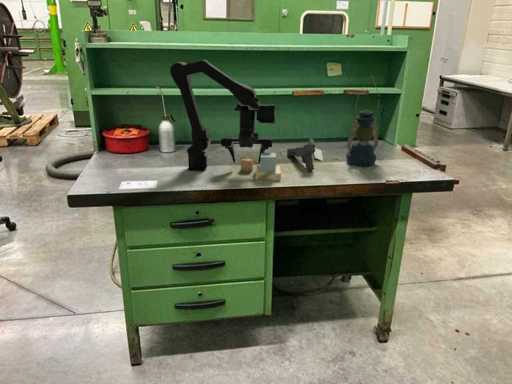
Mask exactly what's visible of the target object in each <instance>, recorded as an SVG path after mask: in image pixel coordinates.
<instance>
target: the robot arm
mask: <svg viewBox="0 0 512 384" xmlns="http://www.w3.org/2000/svg"><path fill="white" fill-rule="evenodd" d="M199 73H203V74H204V75H205V76H207V77H209V78H210V79H211V80H213V81H215V82H216V83H218V84H219V85H220V86H222V88H225V89H226V90H228V92H230V93H231V94H232V95H233V96H234V98H236V100H237V101H239V102H238V103H237V105H236V106H235V107H234V108H233V111H237V112H238V111H239V115H238V117H239V119H238V121H239V122H238V123H239V124H238V126H239V127H238V130H239V131H238V137H237V138H234V136H233V135H222V137H221V140H220V143H221V145H220V146H221V147H224V148H225V149H227V150H228V152H229V153H230V157H231V159H232V162H233V164H236V153H235V152H236V151H235V144H236V145H237V144H238V145H239V147H240V148H249V149H251V148H253V147H254V145H259V146H260V147H259V153H258V162H257V163H258V165H261V153H265V151H266V150H269V148H273V138H272V136H261V138H259V133H255V130H256V128H255V127H256V121H257V122H259V124H276V105H275V104H273V103H272V104H271V103H270V104H262V103H261V102H260V100H259V99H258V98H257V93H256V91H255V89H254V88H253V87H251V86H249V85H247V84H245V83H242V82H239V81H237V80H235V79H234V78H232V77H231V76H229V75H228V74H226V73H225V72H223V71H222V70H220V69H219V68H217V67H216V66H215V65H213V64H212V63H210V61H208V60H206V59H201V60H197V61H194V62H193V61H192V62H189V63H186V62H185V61H178V62H176V63H173V64H171V66H170V69H169V74H170V76H171V78H172V80H173V82H174V83H175V85H176V86H177V88H178V89H179V93H180V95H181V98H182V101H183V104H184V108H185V111H186V114H187V117H188V121H189V124H190V127H191V145H189V147H188V148H187V149H186V153H187V158H188V159H187V160H188V167H187V170H188V171H206V169H207V168H208V165H209V164H208V155H206V152H207V151H205V150H206V149H207V148H208V147H209V145H210V144H211V142H212V139H211V138H212V134H211V132H210V127H209V126H206V127H205V125H204V123H203V120H202V118H201V114H200V111H199V108H198V104H197V101H196V97H195V94H194V91H193V87H192V75H193V74H199Z"/></svg>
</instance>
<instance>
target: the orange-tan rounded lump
mask: <svg viewBox="0 0 512 384" xmlns="http://www.w3.org/2000/svg"><path fill="white" fill-rule="evenodd" d="M253 162H254V159H251V158H242V159H240V171H241V172H244V173H249V172H250V173H251V172H253V170H254V169H253V167H254V165H253V164H254V163H253Z"/></svg>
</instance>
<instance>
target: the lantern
mask: <svg viewBox="0 0 512 384" xmlns="http://www.w3.org/2000/svg"><path fill="white" fill-rule="evenodd" d="M370 78H372V81H373V84H374V86H375V88H376V92H377V95H378V96H380V92H379V90H378V88H377V85H376V82H375V80H374V77H373V75H372V74H370V75H369V77H368V78H367V80H366V81H365V82H364V85H363V87H362V89H361V90H360V91H359V93H358V95H357V98H356V102H355V106H357V104H358V99H359V96H360V94H361V93H362V91H363V89H364V88H365V85H367V82H368V81H369V79H370ZM377 105H378V106H377V109H380V108H379V106H380V100H378V104H377ZM354 109H355V110H354V112H353V113H354V114H353V119H354V121H353V123H352V126H351V129H350V133H349V136H348V139H347V142H346V143H347V144H346V149H347V150H348V152H347V153H346V155H345V156H346V157H345V158H346V162H347V163H348V164H349V165H351V166H354V167H363V168H365V167H372V166H373V165H374V164H375V163H376V161H377V155H376V154H375V150H376V148H377V147H378V144H379V136H378V135H379V134H378V122H377V117H378V115H379V112H377V114H376V116H374V112H373V111H371V110H370V109H363V110H360V111H358V115H356V110H357V107H355V108H354ZM357 125H358V126H357ZM354 136H355V138H356V139H357V142H356V141H355V142H353V139H354ZM372 138H373V144H371V143H370V142H369V141H370V140H371V139H372ZM352 142H353V143H352Z"/></svg>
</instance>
